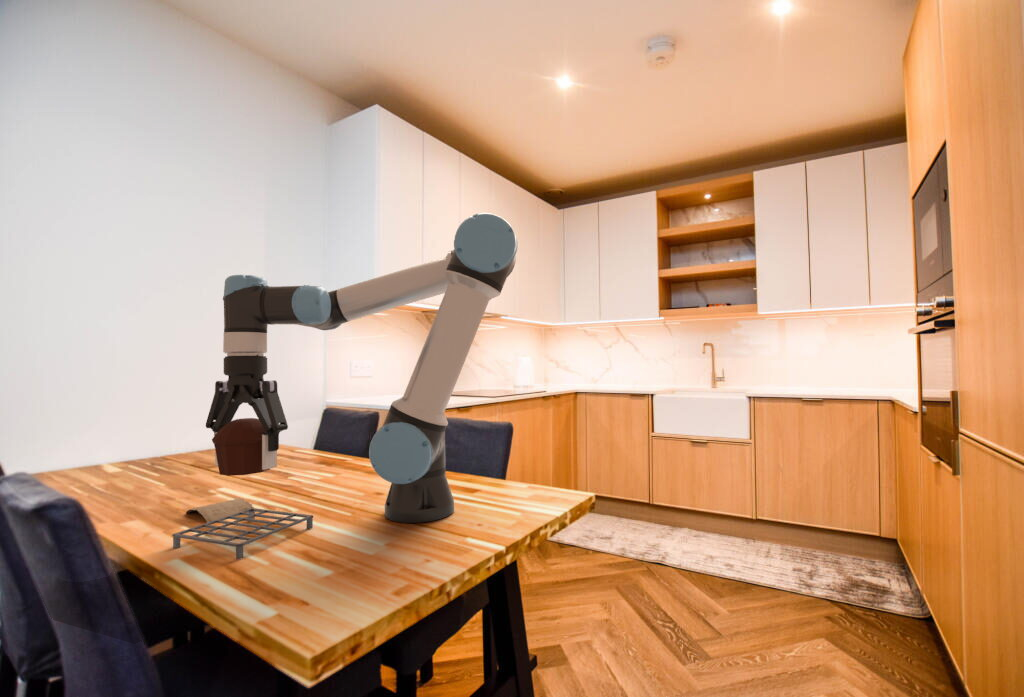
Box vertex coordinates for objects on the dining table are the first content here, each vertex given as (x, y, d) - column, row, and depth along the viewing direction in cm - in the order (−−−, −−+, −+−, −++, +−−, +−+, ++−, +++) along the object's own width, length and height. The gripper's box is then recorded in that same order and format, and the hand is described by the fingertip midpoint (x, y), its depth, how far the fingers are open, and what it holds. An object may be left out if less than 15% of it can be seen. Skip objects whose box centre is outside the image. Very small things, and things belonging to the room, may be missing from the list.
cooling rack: (313, 527, 99) (313, 515, 99) (239, 559, 83) (239, 545, 83) (252, 519, 105) (252, 508, 105) (172, 548, 89) (172, 534, 89)
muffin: (205, 470, 95) (205, 419, 95) (266, 462, 102) (266, 414, 103) (221, 480, 86) (221, 424, 87) (286, 470, 94) (286, 418, 94)
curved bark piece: (258, 515, 110) (258, 503, 110) (209, 527, 102) (209, 514, 102) (229, 505, 119) (229, 494, 119) (182, 516, 111) (182, 504, 111)
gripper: (307, 353, 94) (308, 466, 93) (220, 356, 103) (219, 459, 102) (276, 353, 87) (276, 474, 86) (184, 356, 96) (184, 466, 95)
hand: (245, 466), depth 94 cm, fingers closed on muffin, 12 cm apart
